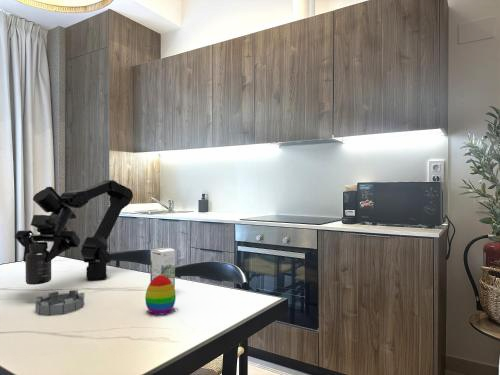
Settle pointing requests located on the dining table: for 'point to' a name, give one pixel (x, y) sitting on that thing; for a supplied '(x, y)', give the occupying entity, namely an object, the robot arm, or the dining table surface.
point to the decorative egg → (160, 295)
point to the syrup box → (163, 263)
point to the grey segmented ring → (69, 300)
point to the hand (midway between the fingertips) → (35, 261)
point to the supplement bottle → (37, 264)
